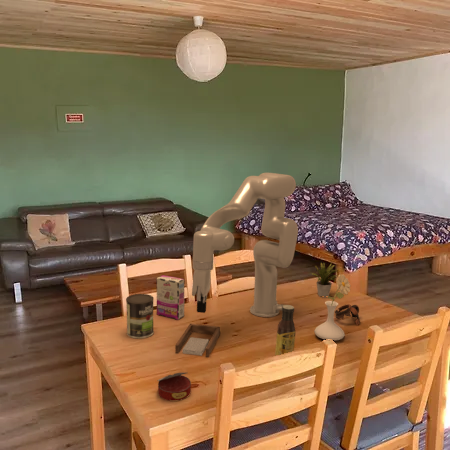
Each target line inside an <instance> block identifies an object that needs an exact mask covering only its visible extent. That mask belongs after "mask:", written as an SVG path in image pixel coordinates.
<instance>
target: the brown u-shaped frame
mask: <svg viewBox="0 0 450 450" xmlns="http://www.w3.org/2000/svg"><path fill="white" fill-rule="evenodd" d="M192 333H196V334H197V333H198V334H204V335H205V334H206V335H212V336H211V339H209V344H208V345H207V347H206V349H205V357H206V358H209V357H210V355H211V353H212V351H213V349H214V347H215V346H216V345H215V344H216V343H217V341H218V339H219V337H220V336H221V326H215V325H209V324H208V325H207V324H206V325H205V324H198V323H197V324H196V323H189V325H188V326H187V328H186V329H185V331H184V332H183V334H182V335H181V337H180V338H179V340H178V341H177V343H176V344H175V346H174V347H175V354H179V353H180V351H181V350H182V349H183V348H184V346H185V345H186V343H187V341H188V340H189V338H190V336H191V334H192Z"/></svg>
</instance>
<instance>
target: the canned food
mask: <svg viewBox="0 0 450 450" xmlns="http://www.w3.org/2000/svg"><path fill="white" fill-rule="evenodd" d="M186 374H187V372H176V373H173V374H168V375H166V376H164V377H161V378H159V379H158V380H157V382H158V383H157V388H158V390H157V392H158V396H159V397H160V398H161V399H162V400H165V399H166V401H170V400H178V401H181V399H182V400H184V399H186V398H188V397H189V396H190V395H191V393H190V392H191V391H192V390H191V389H192V388H191V386H192V382H191V380H190V378H188V377H187V376H185V375H186ZM189 394H190V395H189ZM188 395H189V396H188ZM187 396H188V397H187Z"/></svg>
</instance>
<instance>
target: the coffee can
mask: <svg viewBox="0 0 450 450" xmlns="http://www.w3.org/2000/svg"><path fill="white" fill-rule="evenodd" d="M154 300H155V299H154V297H153V295H150V294H147V293H146V294H145V293H136V294H131V295H129V296H127V297H126V298H125V302H126V335H127V336H128V337H129V338H131V339H137V340H138V339H141V340H142V339H146V338H150V337H151V336H153V335H154Z"/></svg>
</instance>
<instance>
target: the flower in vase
mask: <svg viewBox="0 0 450 450" xmlns="http://www.w3.org/2000/svg"><path fill="white" fill-rule="evenodd" d="M335 281H336V286H337V289H336V292H335V295H334V296H333V297H332V296H330V295H329V296H328V297H327V299H329V300H326V301H325V302H324V304H325V305H326V309H327V319H326V321H325V322H323V323H321V324H319V325H317V326H316V328H315V329H314V334H315V336H317V337H318V338H320V339H323V340H325V339H332V340H334V341H339V340H342V339H344V337H345V335H346V334H345V330H343V329H342V327H340V326H339V325H338V324H337V323H335V320H334V319H335V318H334V316H335V311H336V308H337V307H338V306H339V303H338V302H337V301H335V299H336V297H337V298H338V299H340V300H341V299H343V298H344V295H348V293H350V291H351V283H350V282H349V278H347V277H346V275H345V274H343V273H342V274H338V276H337V278H336V280H335Z"/></svg>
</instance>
